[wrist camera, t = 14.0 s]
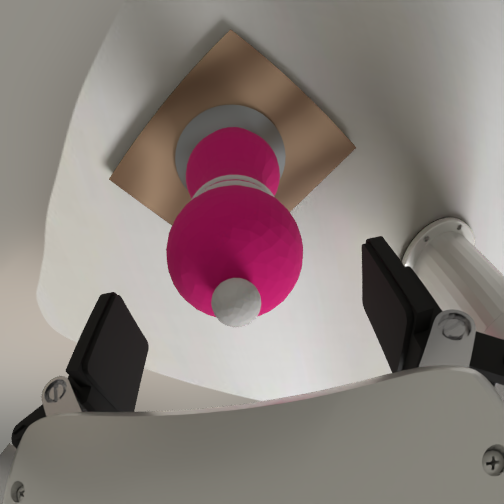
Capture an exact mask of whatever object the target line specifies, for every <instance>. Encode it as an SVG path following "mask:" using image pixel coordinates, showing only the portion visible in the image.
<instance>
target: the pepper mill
mask: <svg viewBox="0 0 504 504" xmlns="http://www.w3.org/2000/svg"><path fill="white" fill-rule="evenodd" d="M279 181H280V170H279V165H278V161H277V157H276V155H275V153H274V151H273V150H272V148H271V147H270V145H269V144H268V143H267V142H266V141H265V140H264V139H263V138H261V137H260V136H258V135H257V134H255V133H253V132H250V131H249V130H246V129H243V128H239V127H227V128H222V129H219V130H217V131H215V132H213V133H211V134H209V135H208V136H206V137H205V138H203V139H202V140H201V141H200V142H199V143H198V144H197V145H196V146H195V148H194V149H193V151H192V153H191V155H190V157H189V160H188V163H187V169H186V185H187V189H188V192H189V194H190V196H191V201H190V202H189V203H188V204H186V205H185V207H184V208H183V209H182V210H181V212H180V213H179V214H178V216H177V217H176V219H175V221H174V223H173V225H172V228H171V230H170V232H169V237H168V243H167V249H166V251H167V264H168V270H169V273H170V276H171V279H172V281H173V284H174V285H175V287H176V289H177V290H178V292H179V293H180V295H181V296H182V297H183V298H184V299H185V300H186V301H187V302H189V303H190V304H191V305H192V306H194V307H195V308H196V309H197V310H200V311H202V312H204V313H206V314H208V315H211V316H214V317H217V318H218V319H219V321H220V322H221V323H223V324H225V325H227V326H230V327H243V326H245V325H248V324H250V323H251V322H252V321H253V320H255V319H256V317H257V316H260V315H262V314H264V313H267V312H269V311H271V310H272V309H273V308H275V307H276V306H277V305H279V304H280V303H281V302H283V301H284V300H285V298H286V297H287V296H288V294H289V293H290V292H291V291H292V289H293V288H294V286H295V284H296V282H297V280H298V277H299V274H300V271H301V268H302V259H303V245H302V239H301V235H300V232H299V229H298V226H297V224H296V222H295V220H294V218H293V217H292V215H291V214H290V212H289V211H288V209H287V208H286V207H285V206H284V205H283V204H282V203H281V202H280V201H279V200H278V199H276V198H275V194H276V192H277V189H278V186H279Z"/></svg>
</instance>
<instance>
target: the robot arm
mask: <svg viewBox="0 0 504 504" xmlns="http://www.w3.org/2000/svg"><path fill="white" fill-rule="evenodd" d="M362 300H363V306H364V309H365V312H366V314H367V316H368V318H369V320H370V323H371V325H372V327H373V329H374V331H375V334H376V336H377V338H378V340H379V343H380V345H381V347H382V350H383V352H384V354H385V357H386V359H387V361H388V364H389V366H390V368H391V371H392V373H391V374H387V375H383V376H379V377H375V378H371V379H368V380H364V381H360V382H356V383H351V384H347V385H343V386H338V387H334V388H330V389H325V390H321V391H316V392H311V393H306V394H301V395H296V396H291V397H285V398H279V399H273V400H267V401H260V402H254V403H246V404H239V405H231V406H222V407H212V408H202V409H190V410H174V411H152V412H134V409H135V405H136V400H137V395H138V391H139V386H140V382H141V378H142V374H143V369H144V365H145V361H146V357H147V353H148V342H147V340H146V338H145V337H144V335H143V333H142V332H141V330H140V329H139V327H138V325H137V324H136V322H135V320H134V319H133V317H132V315H131V313H130V312H129V310H128V308H127V307H126V305H125V303H124V301H123V299H122V298H121V296H120V295H117V294H116V293H115V292H111V293H106V294H102V295H100V297H99V299H98V301H97V303H96V305H95V307H94V309H93V311H92V313H91V315H90V317H89V319H88V321H87V323H86V326H85V328H84V330H83V332H82V334H81V336H80V339H79V341H78V343H77V345H76V347H75V350H74V352H73V354H72V357H71V359H70V361H69V364H68V366H67V369H66V372H67V373H68V374H69V376H68V379H67V378H66V377H63V376H59V377H55V378H53V379H52V380H50V381H49V382H48V383H47V384H46V386H45V387H44V389H43V391H42V403H43V405H41V406H40V407H39V408H38V409H36V410H35V411H34V412H33V413H31V414H30V415H29V416H27V417H26V418H25V419H23V420H22V421H21V422H20V423H19V424H18V425H16V426H15V428H14V430H13V433H12V444H13V445H11V444H10V443H9V444H8V445H7V447H6V448H5V449H4V451H3V452H2V453H1V454H0V504H504V276H503V275H502V273H501V272H500V271H499V270H498V269H497V268H496V267H495V266H494V265H493V264H492V263H491V262H490V261H489V260H488V259H487V258H486V257H485V256H484V255H483V254H482V253H481V252H480V251H479V250H478V249H477V248H476V247H475V237H474V234H473V231H472V230H471V228H470V227H469V226H468V225H467V224H466V223H465V222H463V221H462V220H460V219H457V218H443V219H439V220H437V221H435V222H433V223H431V224H430V225H428V226H426V227H425V228H424V229H423V230H422V231H421V232H419V233H418V235H417V236H416V237H415V238H414V239H413V240H412V242H411V243H410V245H409V246H408V248H407V250H406V252H405V254H404V256H403V260H402V262H401V261H400V259H399V258H398V257H397V255H396V254H395V253H394V251H393V250H392V249H391V247H390V246H389V245H388V243H387V242H386V241H385V240H384V238H383V237H382V236H379V237H375V238H370V239H367V240H366V244H363V245H362Z"/></svg>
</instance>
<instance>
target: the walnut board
mask: <svg viewBox="0 0 504 504" xmlns="http://www.w3.org/2000/svg"><path fill="white" fill-rule="evenodd" d="M227 127H239V128H243V129H246V130H249V131H250V132H253V133H255V134H257V135H258V136H260V137H261V138H263V139H264V140H265V141H266V142H267V143H268V144H269V145H270V147H271V148H272V150H273V151H274V153H275V155H276V157H277V161H278V165H279V170H280V181H279V186H278V189H277V192H276V194H275V198H276V199H278V200H279V201H280V202H281V203H282V204H283V205H284V206H285V207H286V208H287V209H288V211H289V212H290V211H291V210H292V209H293V208H294V207H295V206H296V205H298V204H299V203H300V202H301V201H302V200H303V199H304V198H305V197H306V196H307V195H308V194H309V193H310V192H311V191H312V190H313V189H314V188H315V187H316V186H317V185H318V184H319V183H320V182H321V181H322V180H323V179H324V178H325V177H326V176H328V175H329V174H330V173H331V172H332V171H333V170H334V169H335V168H336V167H337V166H338V165H339V164H340V163H341V162H342V161H343V160H344V159H345V158H346V157H347V156H348V155H349V154H350V153H351V152H352V151H353V150H354V149H355V148H356V147H355V146H354V144H353V143H352V142H351V141H350V140H349V139H348V138H347V137H346V136H345V134H344V133H343V132H342V131H341V130H340V129H339V128H338V127H337V126H336V125H335V124H334V123H333V121H332V120H331V119H330V118H329V117H328V116H327V115H326V114H325V113H324V112H323V111H322V110H321V109H320V108H319V107H318V106H317V105H316V104H315V103H314V102H313V101H312V100H311V99H310V98H309V97H308V96H307V95H306V94H305V93H304V92H303V91H302V90H301V89H300V88H299V87H298V86H296V85H295V84H294V83H293V82H292V81H291V80H290V79H289V78H288V77H287V76H286V75H285V74H283V73H282V72H281V71H280V70H279V69H278V68H277V67H276V66H275V65H273V64H272V63H271V62H270V61H269V60H268V59H266V58H265V57H264V56H263V55H262V54H261V53H259V52H258V51H257V50H256V49H255V48H253V47H252V46H251V45H250V44H249V43H247V42H246V41H245V40H244V39H242V38H241V37H240V36H239V35H237V34H236V33H235V32H233V31H232V30H230V31H229V32H228V33H227V34H226V35H225V36H224V37H223V38H222V39H221V40H220V41H219V42H218V43H217V44H216V45H215V46H214V47H213V48H212V49H211V50H210V51H209V52H208V53H207V54H206V55H205V56H204V57H203V58H202V59H201V60H200V61H199V63H198V64H197V65H196V66H195V67H194V68H193V69H192V70H191V71H190V73H189V74H188V75H187V76H186V77H185V78H184V79H183V80H182V82H181V83H180V84H179V85H178V86H177V88H176V89H175V90H174V91H173V92H172V93H171V95H170V96H169V97H168V98H167V100H166V101H165V102H164V103H163V105H162V106H161V107H160V108H159V110H158V111H157V112H156V113H155V115H154V116H153V117H152V119H151V120H150V121H149V122H148V124H147V125H146V126H145V128H144V129H143V130H142V132H141V133H140V135H139V136H138V137H137V139H136V140H135V141H134V143H133V144H132V146H131V147H130V149H129V150H128V151H127V153H126V154H125V156H124V157H123V159H122V160H121V162H120V163H119V165H118V166H117V168H116V169H115V171H114V172H113V174H112V175H111V177H110V178H109V180H111V181H112V182H113V183H115V184H116V185H117V186H119V187H120V188H121V189H123V190H124V191H125V192H127V193H128V194H130V195H131V196H132V197H134V198H135V199H136V200H138V201H139V202H140V203H142V204H143V205H145V206H146V207H147V208H149V209H150V210H151V211H153V212H154V213H156V214H157V215H158V216H160V217H161V218H162V219H164V220H165V221H167V222H168V223H169V224H171V225H173V223H174V221H175V219H176V217H177V216H178V214H179V213H180V212H181V210H182V209H183V208H184V207H185V205H186V204H188V203H189V202H190V201H191V196H190V194H189V192H188V189H187V185H186V169H187V163H188V160H189V157H190V155H191V153H192V151H193V149H194V148H195V146H196V145H197V144H198V143H199V142H200V141H201V140H202V139H203V138H205V137H206V136H208V135H209V134H211V133H213V132H215V131H217V130H219V129H222V128H227Z"/></svg>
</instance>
